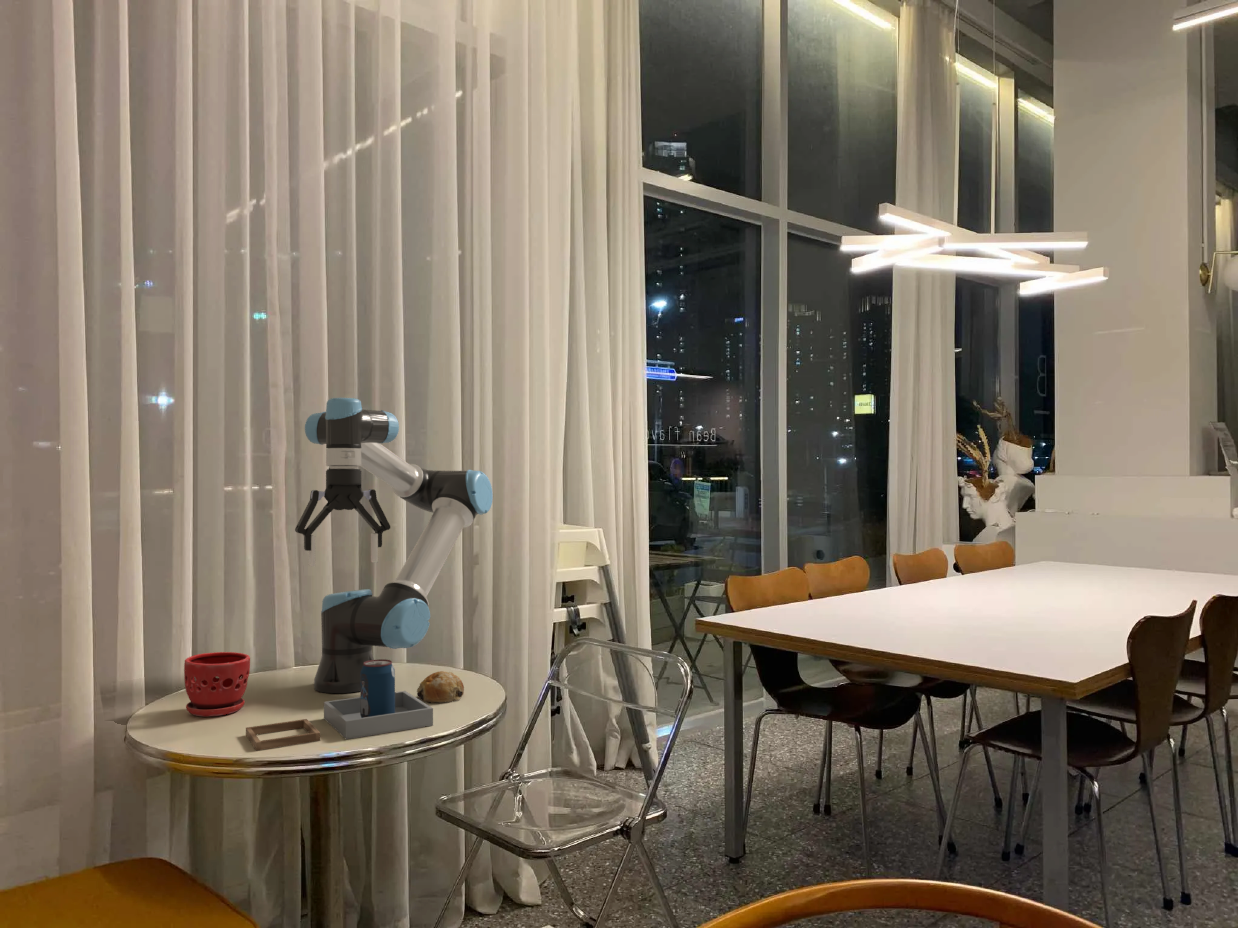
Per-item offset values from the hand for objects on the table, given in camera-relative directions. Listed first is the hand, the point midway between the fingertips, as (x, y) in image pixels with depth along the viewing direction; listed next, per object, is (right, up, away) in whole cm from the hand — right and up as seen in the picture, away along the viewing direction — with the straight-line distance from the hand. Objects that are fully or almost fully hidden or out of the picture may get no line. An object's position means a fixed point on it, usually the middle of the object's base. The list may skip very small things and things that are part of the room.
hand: (343, 564), depth 195 cm
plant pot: (-27, -32, -3) cm, 42 cm away
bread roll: (+20, -32, +8) cm, 38 cm away
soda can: (+11, -31, -12) cm, 35 cm away
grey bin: (+11, -32, -12) cm, 35 cm away
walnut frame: (-5, -31, -22) cm, 39 cm away
